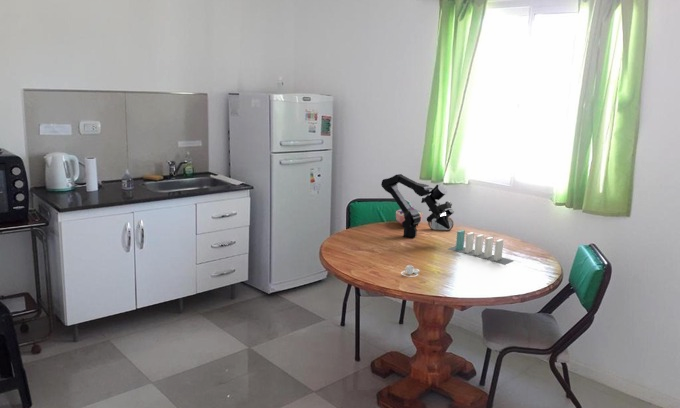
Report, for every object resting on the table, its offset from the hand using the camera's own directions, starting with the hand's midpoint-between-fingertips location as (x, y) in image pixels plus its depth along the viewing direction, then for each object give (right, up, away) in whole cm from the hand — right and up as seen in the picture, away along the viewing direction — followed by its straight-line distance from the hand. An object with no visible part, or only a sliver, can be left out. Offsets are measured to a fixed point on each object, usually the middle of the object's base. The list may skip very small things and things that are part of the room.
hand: (449, 228), depth 280 cm
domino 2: (+13, -13, -10) cm, 21 cm away
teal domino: (+5, -11, -3) cm, 12 cm away
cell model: (-16, 0, +44) cm, 47 cm away
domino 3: (+17, -14, -14) cm, 26 cm away
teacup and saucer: (-24, -20, -43) cm, 53 cm away
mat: (+13, -13, -11) cm, 22 cm away
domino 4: (+21, -15, -18) cm, 31 cm away
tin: (+2, -3, +36) cm, 37 cm away
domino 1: (+9, -12, -7) cm, 16 cm away
